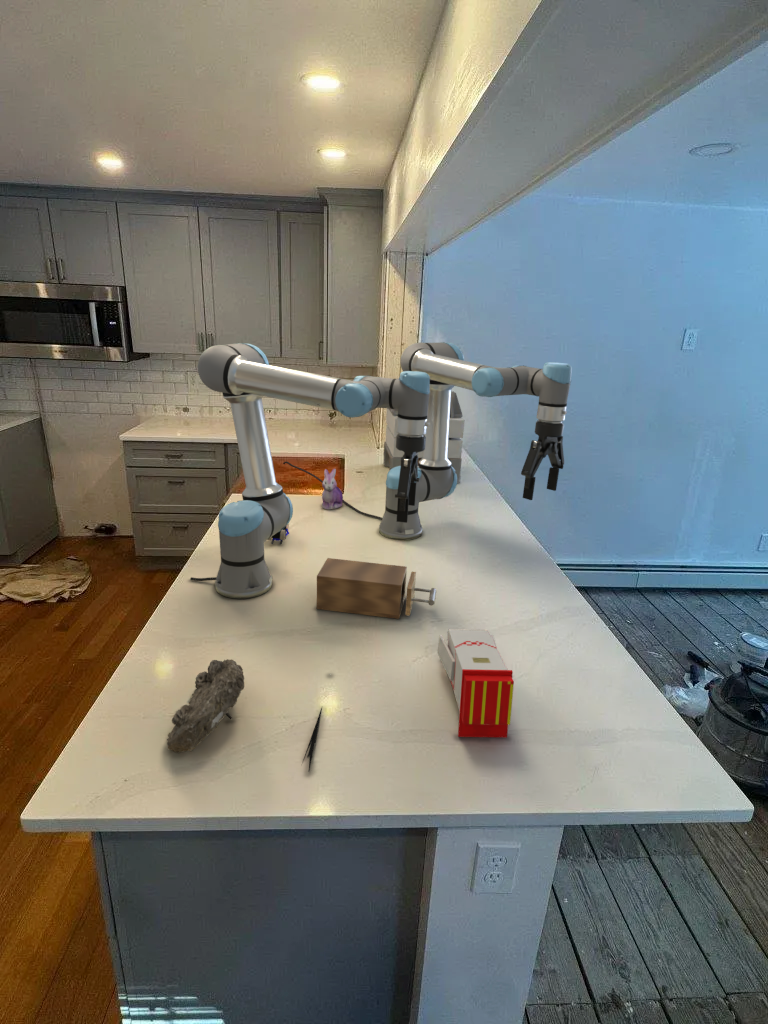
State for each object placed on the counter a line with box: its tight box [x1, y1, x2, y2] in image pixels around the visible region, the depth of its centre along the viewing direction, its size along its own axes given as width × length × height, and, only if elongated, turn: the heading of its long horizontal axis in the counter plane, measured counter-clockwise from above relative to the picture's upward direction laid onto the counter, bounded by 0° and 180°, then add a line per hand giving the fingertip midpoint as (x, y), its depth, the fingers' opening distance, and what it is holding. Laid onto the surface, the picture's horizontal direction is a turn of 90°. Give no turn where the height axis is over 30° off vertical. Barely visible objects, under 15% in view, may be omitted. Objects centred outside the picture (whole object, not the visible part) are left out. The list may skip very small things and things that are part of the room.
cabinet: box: [316, 557, 408, 620], centre depth 150 cm, size 22×11×10 cm, turn 81°
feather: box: [301, 673, 332, 771], centre depth 108 cm, size 2×28×2 cm
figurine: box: [321, 468, 344, 510], centre depth 222 cm, size 9×10×15 cm
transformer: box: [383, 390, 465, 484], centre depth 268 cm, size 34×33×41 cm
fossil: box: [166, 658, 245, 754], centre depth 106 cm, size 22×10×15 cm
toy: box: [437, 628, 515, 738], centre depth 117 cm, size 12×13×30 cm
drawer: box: [400, 571, 438, 617], centre depth 149 cm, size 26×10×8 cm, turn 81°
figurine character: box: [267, 523, 290, 545], centre depth 190 cm, size 7×8×15 cm
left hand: (406, 513), depth 151 cm, fingers open, 13 cm apart
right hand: (539, 494), depth 163 cm, fingers open, 13 cm apart
